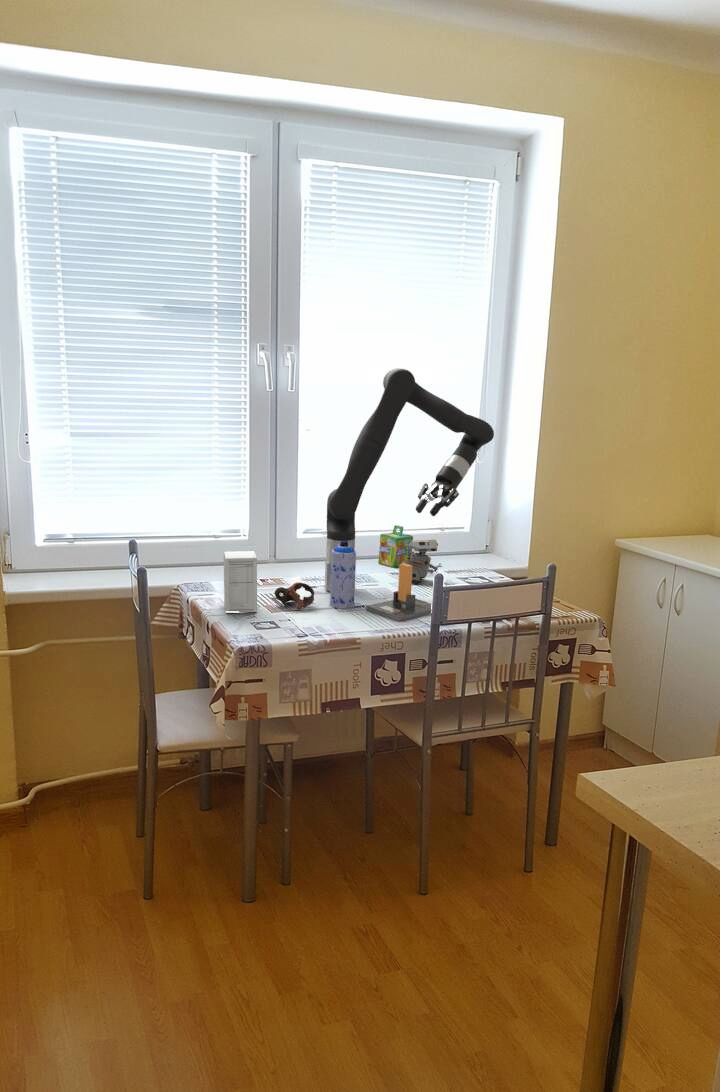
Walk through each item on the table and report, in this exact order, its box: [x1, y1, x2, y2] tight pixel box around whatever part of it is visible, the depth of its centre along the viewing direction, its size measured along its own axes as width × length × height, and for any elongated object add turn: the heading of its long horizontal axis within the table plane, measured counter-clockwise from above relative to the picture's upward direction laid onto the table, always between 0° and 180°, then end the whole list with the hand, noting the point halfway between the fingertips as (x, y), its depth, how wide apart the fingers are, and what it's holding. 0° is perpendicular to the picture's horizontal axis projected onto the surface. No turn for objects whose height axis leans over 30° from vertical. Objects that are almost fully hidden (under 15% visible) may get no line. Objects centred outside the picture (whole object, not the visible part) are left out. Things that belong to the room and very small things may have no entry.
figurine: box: [406, 538, 443, 585], centre depth 278 cm, size 9×12×15 cm
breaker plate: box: [365, 590, 432, 622], centre depth 243 cm, size 18×14×6 cm
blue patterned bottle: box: [329, 541, 357, 609], centre depth 246 cm, size 8×8×20 cm
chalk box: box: [378, 524, 414, 569], centre depth 303 cm, size 9×9×15 cm
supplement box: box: [223, 550, 258, 613], centre depth 237 cm, size 10×9×17 cm
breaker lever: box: [397, 563, 413, 605], centre depth 242 cm, size 2×4×12 cm, turn 42°
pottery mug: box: [274, 582, 315, 611], centre depth 244 cm, size 12×10×8 cm
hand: (424, 512), depth 251 cm, fingers open, 5 cm apart
